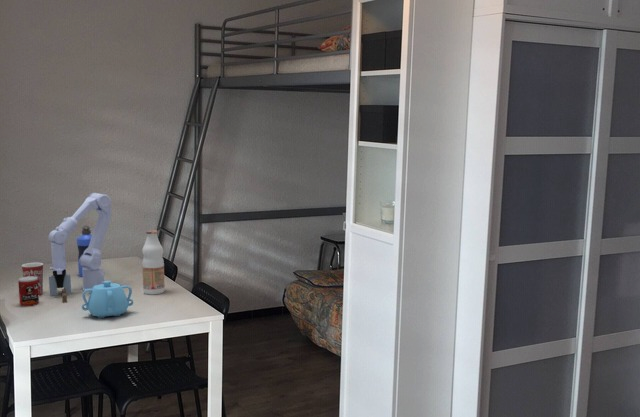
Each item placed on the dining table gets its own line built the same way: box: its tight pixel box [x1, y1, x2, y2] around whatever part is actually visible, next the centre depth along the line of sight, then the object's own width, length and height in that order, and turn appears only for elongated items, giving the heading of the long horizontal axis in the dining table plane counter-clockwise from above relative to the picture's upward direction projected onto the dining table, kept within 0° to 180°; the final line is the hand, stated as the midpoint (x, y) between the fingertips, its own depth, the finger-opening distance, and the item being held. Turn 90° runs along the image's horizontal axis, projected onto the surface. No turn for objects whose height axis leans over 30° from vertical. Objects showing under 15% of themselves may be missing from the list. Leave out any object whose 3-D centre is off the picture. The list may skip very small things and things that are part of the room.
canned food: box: [17, 276, 40, 307], centre depth 306 cm, size 8×8×11 cm
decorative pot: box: [81, 280, 134, 319], centre depth 288 cm, size 16×16×14 cm
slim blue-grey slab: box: [48, 273, 72, 297], centre depth 322 cm, size 9×2×8 cm, turn 110°
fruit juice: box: [141, 229, 166, 296], centre depth 323 cm, size 9×9×28 cm
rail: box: [61, 288, 68, 303], centre depth 313 cm, size 2×12×3 cm, turn 20°
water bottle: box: [76, 225, 92, 278], centre depth 358 cm, size 9×9×25 cm
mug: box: [21, 262, 44, 296], centre depth 323 cm, size 13×9×14 cm
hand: (60, 287), depth 322 cm, fingers closed on slim blue-grey slab, 2 cm apart
